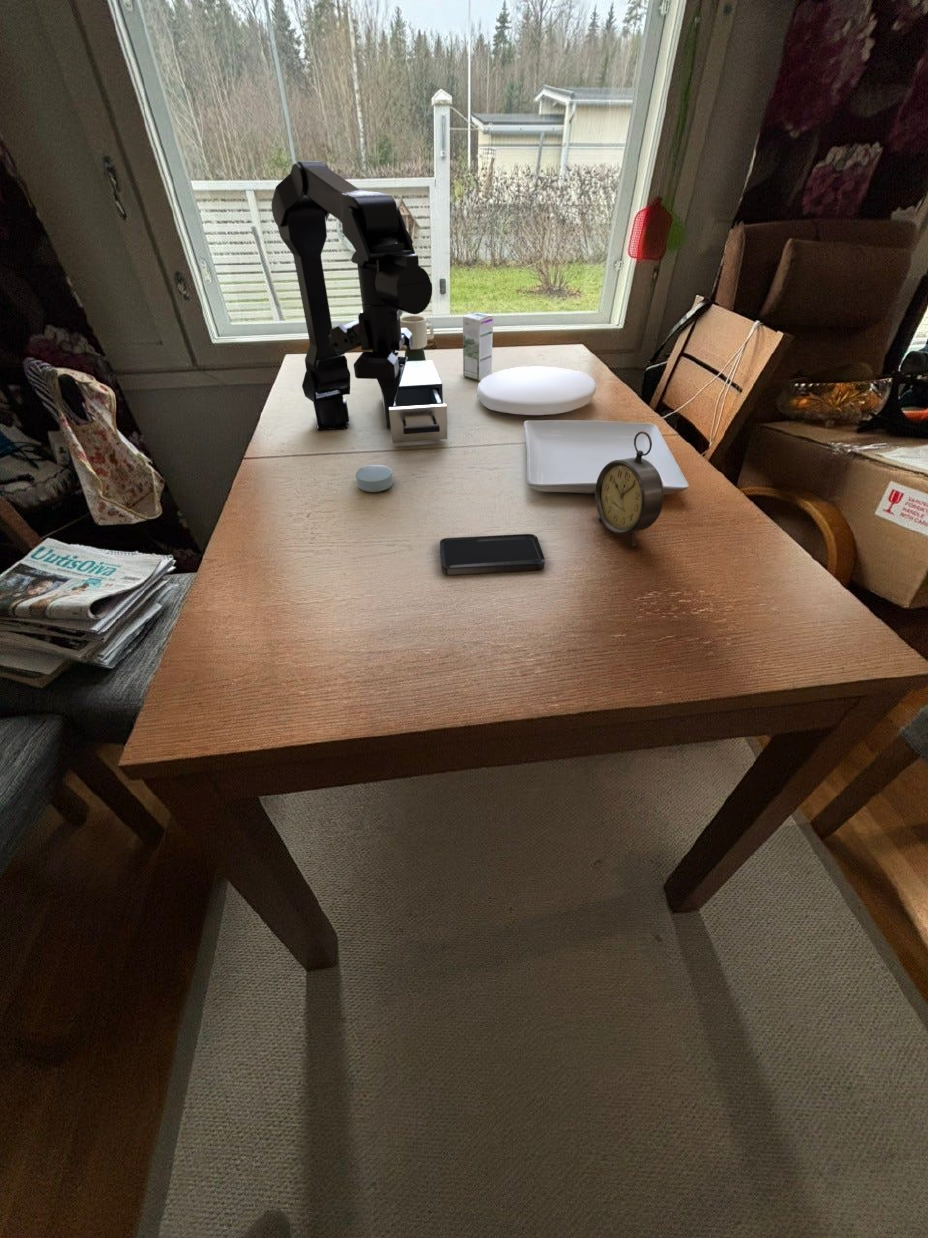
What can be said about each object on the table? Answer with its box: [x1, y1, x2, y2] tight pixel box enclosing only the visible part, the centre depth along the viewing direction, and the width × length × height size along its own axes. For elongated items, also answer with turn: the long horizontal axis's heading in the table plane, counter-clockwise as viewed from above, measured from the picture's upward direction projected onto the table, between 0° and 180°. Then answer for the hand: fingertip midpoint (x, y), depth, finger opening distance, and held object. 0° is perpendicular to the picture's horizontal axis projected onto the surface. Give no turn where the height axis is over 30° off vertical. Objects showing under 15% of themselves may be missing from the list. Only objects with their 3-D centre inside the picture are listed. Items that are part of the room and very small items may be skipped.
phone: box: [439, 533, 546, 576], centre depth 75 cm, size 8×1×15 cm
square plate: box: [523, 419, 690, 496], centre depth 95 cm, size 27×27×4 cm
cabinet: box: [380, 359, 444, 429], centre depth 114 cm, size 17×13×9 cm
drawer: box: [389, 388, 449, 444], centre depth 105 cm, size 20×11×7 cm, turn 10°
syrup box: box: [462, 312, 494, 382], centre depth 130 cm, size 6×6×14 cm
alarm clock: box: [594, 431, 665, 549], centre depth 75 cm, size 11×5×16 cm, turn 24°
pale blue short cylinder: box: [355, 464, 394, 493], centre depth 90 cm, size 6×6×3 cm
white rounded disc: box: [476, 365, 597, 416], centre depth 120 cm, size 28×6×27 cm
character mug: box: [400, 315, 435, 361], centre depth 133 cm, size 11×7×13 cm, turn 108°
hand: (390, 405), depth 88 cm, fingers closed
